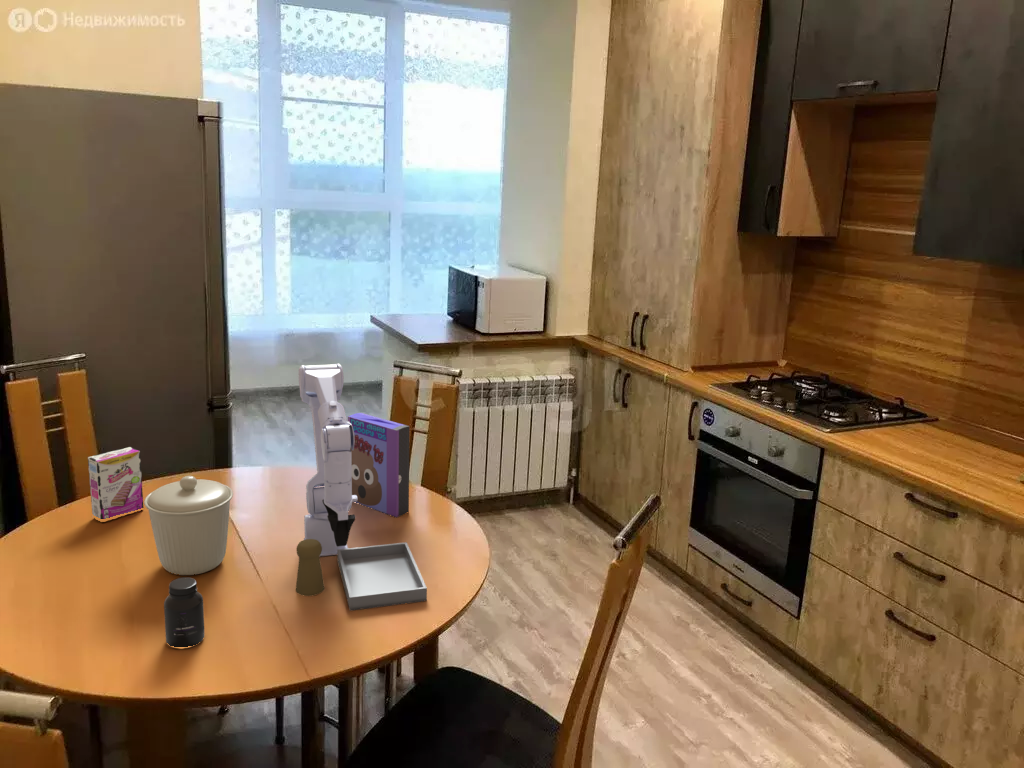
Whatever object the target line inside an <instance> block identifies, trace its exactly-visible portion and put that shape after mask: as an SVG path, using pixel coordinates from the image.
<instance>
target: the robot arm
mask: <svg viewBox="0 0 1024 768" xmlns="http://www.w3.org/2000/svg"><path fill="white" fill-rule="evenodd" d="M298 385H299V396H300V398H301V402H302V403H304V404H307V405H308V407H309V409H310V412H311V415H312V428H313V438H314V439H313V441H314V451H315V461H316V463H315V464H316V471H317V472H316V474H314V475H313V476H312V477H311V478H310V479H308V481H307V483H306V485H305V486H306V488H305V489H306V493H305V494H306V496H305V497H306V498H305V499H306V501H305V502H306V509H307V512H308V514H306V515H304V519H303V524H304V538H303V540H306V539H315V540H317V541H319V542H320V543H321V547H322V551H321V554H320V556H319V557H327V556H337V550H338V549H347V548H349V547H348V541H349V536H350V531H351V528H352V526H353V524H354V522H355V521H356V515H355V514H349V511H350V510H351V508H352V505H353V503H354V501H357V500H358V498H357V496H356V495H352V462H351V461H352V458H351V450H350V448H351V449H352V451H353V450H354V443H355V439H354V431H353V427H352V424H351V423H350V422H348V417H347V416H346V415H347V414H346V410H345V407H344V405H343V404H342V403H341V402H339V401H340V399H341V396H342V392H343V387H344V369H343V366H342V365H341V364H340V363H339V362H338V363H332V364H330V363H329V364H316V365H315V364H313V365H312V364H310V365H309V364H308V365H306V364H305V365H304V364H301V365H300V366H299V368H298Z"/></svg>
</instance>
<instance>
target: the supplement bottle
mask: <svg viewBox="0 0 1024 768" xmlns="http://www.w3.org/2000/svg"><path fill="white" fill-rule="evenodd" d="M197 583H198V582H197V580H196V579H195V578H192V577H188V576H187V577H186V576H185V577H178V578H176V579H173V580H172V581H170V582H169V584H168V595H167V596H166V598H165V599H164V602H163V609H164V610H163V611H164V614H163V615H164V629H165V631H164V632H165V641H166V644H167V643H168V644H169V645H170V646H174V647H188V646H193V645H196V644H198V643H199V642H201V641H202V642H203V640H204V639H205V634H206V633H205V615H204V614H205V613H204V611H205V610H204V609H205V608H204V597H203V595H202V593H200V592H199V591H198V584H197ZM203 638H204V639H203ZM202 642H201V643H202ZM168 644H167V645H168ZM199 644H200V643H199ZM199 644H198V645H199ZM169 645H168V646H169ZM170 646H169V647H170ZM196 646H197V645H196Z"/></svg>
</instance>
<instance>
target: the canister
mask: <svg viewBox="0 0 1024 768" xmlns="http://www.w3.org/2000/svg"><path fill="white" fill-rule="evenodd" d="M233 496H234V491H233V490H232V488H231V487H230V486H228V485H227V484H223V483H222V482H219V481H215V480H210V479H203V478H202V479H201V478H200V479H197V478H196V477H195V476H193V475H186V476H183V477H182V478H181V479H180V480H178V481H173V482H170V483H167V484H165V485H164V484H163V485H162V486H160V487H158V488H157V489H155V490H153V491H151V492H150V493H148V494H147V495H146V497H144V499H143V506H145V508H146V509H147V510H148V515H149V519H150V524H151V529H152V533H153V539H154V543H155V546H156V551H157V555H158V560H159V562H160V563H161V565H162V567H163V568H164V569H165V571H167V572H169V573H170V572H171V573H170V574H173V573H174V575H177V574H179V576H194V574H195V575H199V574H203V573H207V572H209V571H211V570H214V569H215V568H217V567H218V566H220V565H221V563H222V561H224V559H225V556H226V551H227V545H228V544H227V542H228V534H229V522H230V521H229V520H230V519H229V518H230V506H231V505H230V504H231V500H232V498H233Z"/></svg>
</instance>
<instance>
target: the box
mask: <svg viewBox="0 0 1024 768" xmlns="http://www.w3.org/2000/svg"><path fill="white" fill-rule="evenodd" d="M336 557H337V565H338V569H339V573H340V578H341V580H342V581H341V582H342V585H343V588H344V593H345V597H346V600H347V605H348V609H349V611H350V612H351V611H359V610H366V609H367V610H368V609H375V608H382V607H390V606H397V605H403V604H404V605H405V603H407V604H413V603H420V602H421V601H422V602H427V597H428V596H427V595H428V587H427V585H426V583H425V581H424V578H423V576H422V574H421V571H420V569H419V567H418V565H417V561H416V560H415V558H414V555H413V553H412V551H411V549H410V547H409V544H408V542H397V543H396V542H395V543H388V544H387V543H386V544H377V545H369V546H361V547H360V546H359V547H357V546H356V547H351V548H349V547H348V548H347V549H338V550H337V555H336Z"/></svg>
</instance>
